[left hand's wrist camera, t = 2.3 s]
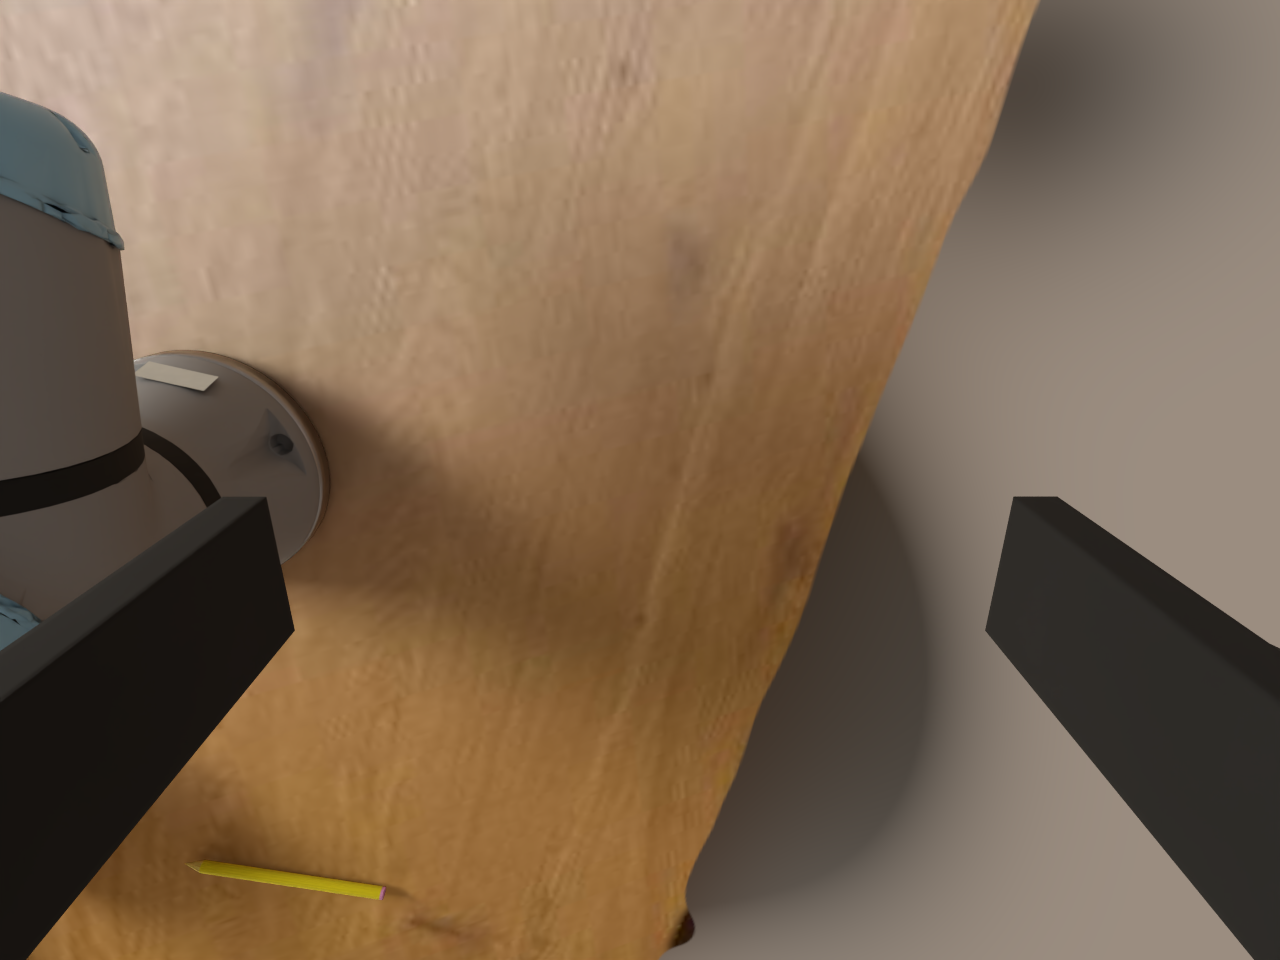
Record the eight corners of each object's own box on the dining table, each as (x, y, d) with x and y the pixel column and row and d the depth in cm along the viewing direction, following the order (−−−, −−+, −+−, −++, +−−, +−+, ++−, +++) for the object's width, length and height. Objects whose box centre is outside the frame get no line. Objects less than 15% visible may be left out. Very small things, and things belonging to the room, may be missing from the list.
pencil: (386, 883, 59) (382, 894, 59) (385, 892, 60) (381, 902, 59) (187, 854, 58) (180, 864, 57) (187, 862, 59) (180, 873, 58)
